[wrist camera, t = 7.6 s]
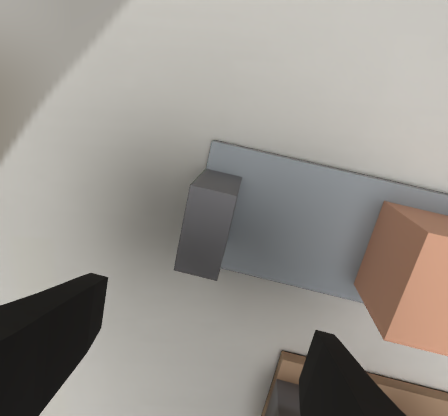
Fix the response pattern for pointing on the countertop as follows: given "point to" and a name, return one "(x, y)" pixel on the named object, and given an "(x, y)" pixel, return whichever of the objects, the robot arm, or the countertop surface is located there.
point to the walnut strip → (396, 390)
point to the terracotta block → (407, 277)
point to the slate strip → (286, 219)
